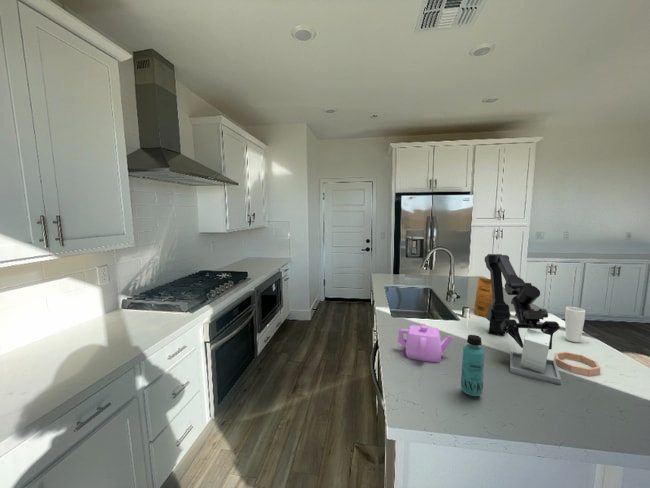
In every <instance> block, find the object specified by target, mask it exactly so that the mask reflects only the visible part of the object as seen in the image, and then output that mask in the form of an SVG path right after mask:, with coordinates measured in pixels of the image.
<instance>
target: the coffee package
mask: <svg viewBox="0 0 650 488" xmlns="http://www.w3.org/2000/svg"><path fill="white" fill-rule="evenodd" d="M475 292H476V295H475V302H474V312H473V313H474V315H475V316H482V317H483V318H486V313H487V312H488V311H489V306H490V304H491V303H492V301H493V298H492V286H491V278H490V279H489V278H485V277H483V276H479V277H478V280H477V288H476V291H475Z"/></svg>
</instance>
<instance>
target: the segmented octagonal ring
mask: <svg viewBox="0 0 650 488" xmlns="http://www.w3.org/2000/svg"><path fill="white" fill-rule="evenodd" d="M553 357H554V360H553V361H556V364H557V367H559V368H561V369H563V370H565V371H568V372H570V373H573V374H576V375H582V376H586V377H592V376H593V377H594V376H600V375H601V366H600V365H599V363H598V361H597V360H594V359H592V358H590V357H587V356H586V355H583V354H580V353H579V354H578V353H575V352H574V353H573V352H569V351H561V352H554V356H553ZM564 359H565V360H571V361H576V362H580V363H583V364H585V365H586V366H587V365H588V366H590V368H589V367H588V368H587V367H582V366H577V365H573V364H570V363H568V362H565V361H564Z"/></svg>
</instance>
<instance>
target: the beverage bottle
mask: <svg viewBox="0 0 650 488" xmlns="http://www.w3.org/2000/svg"><path fill="white" fill-rule="evenodd" d="M466 342H467V344H465V345H464V346H463V347H462V363H461V374H460V388H461V391H463V393H465V394H467V395H469V396H473V397H478V396H479V397H480V396H481V395H482V394H483V390H484V389H483V387H484V368H485V367H484V366H485V364H484V363H485V353H486V352H485V350H484V348H483V347H481V345H482V337H480V336H479V335H476V334H468V336H467V340H466Z"/></svg>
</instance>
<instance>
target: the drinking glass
mask: <svg viewBox="0 0 650 488" xmlns="http://www.w3.org/2000/svg"><path fill="white" fill-rule="evenodd" d="M585 317H586V310H585V309H583V308H581V307H577V306H576V307H574V306H566V307H565V313H564V321H565V322H564V324H565V337H564V338H565V340H567V341H569V342H572V343H581V341H582V334H583V330H584V325H585V319H586V318H585Z"/></svg>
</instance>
